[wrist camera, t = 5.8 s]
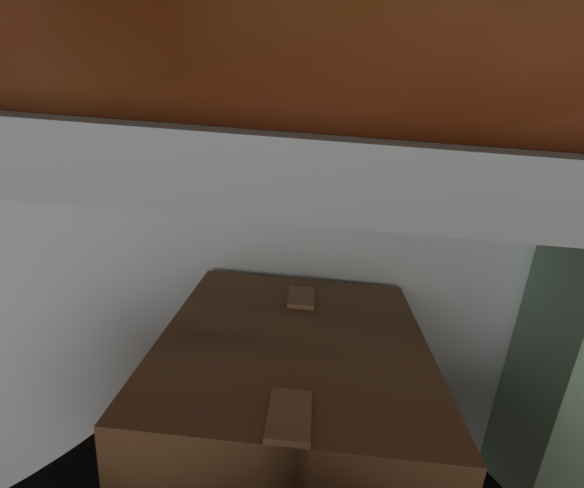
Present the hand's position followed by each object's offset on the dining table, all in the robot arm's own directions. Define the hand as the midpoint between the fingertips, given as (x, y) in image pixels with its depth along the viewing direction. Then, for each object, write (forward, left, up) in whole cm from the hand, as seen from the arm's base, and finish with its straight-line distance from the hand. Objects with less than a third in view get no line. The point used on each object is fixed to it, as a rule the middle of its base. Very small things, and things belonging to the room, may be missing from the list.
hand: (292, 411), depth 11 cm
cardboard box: (0, 0, -1) cm, 1 cm away
